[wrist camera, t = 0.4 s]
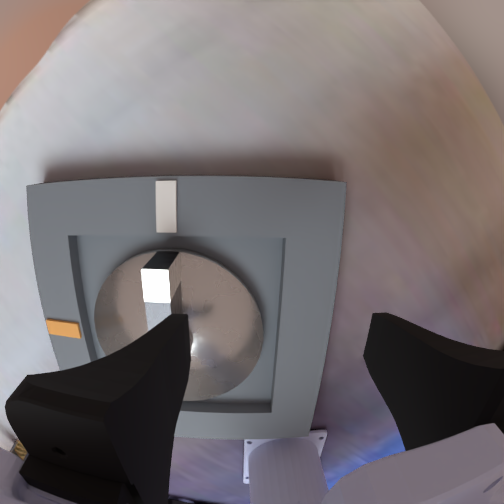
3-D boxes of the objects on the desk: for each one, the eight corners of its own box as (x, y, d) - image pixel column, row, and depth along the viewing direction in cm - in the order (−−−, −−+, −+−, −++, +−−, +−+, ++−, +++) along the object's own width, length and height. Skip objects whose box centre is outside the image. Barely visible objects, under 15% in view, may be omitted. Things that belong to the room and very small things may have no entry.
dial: (258, 395, 23) (262, 434, 18) (114, 386, 22) (98, 420, 18) (266, 249, 19) (274, 272, 15) (88, 246, 19) (56, 265, 15)
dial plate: (304, 419, 25) (308, 438, 23) (87, 406, 24) (78, 422, 22) (335, 180, 19) (347, 182, 17) (43, 183, 18) (24, 186, 16)
